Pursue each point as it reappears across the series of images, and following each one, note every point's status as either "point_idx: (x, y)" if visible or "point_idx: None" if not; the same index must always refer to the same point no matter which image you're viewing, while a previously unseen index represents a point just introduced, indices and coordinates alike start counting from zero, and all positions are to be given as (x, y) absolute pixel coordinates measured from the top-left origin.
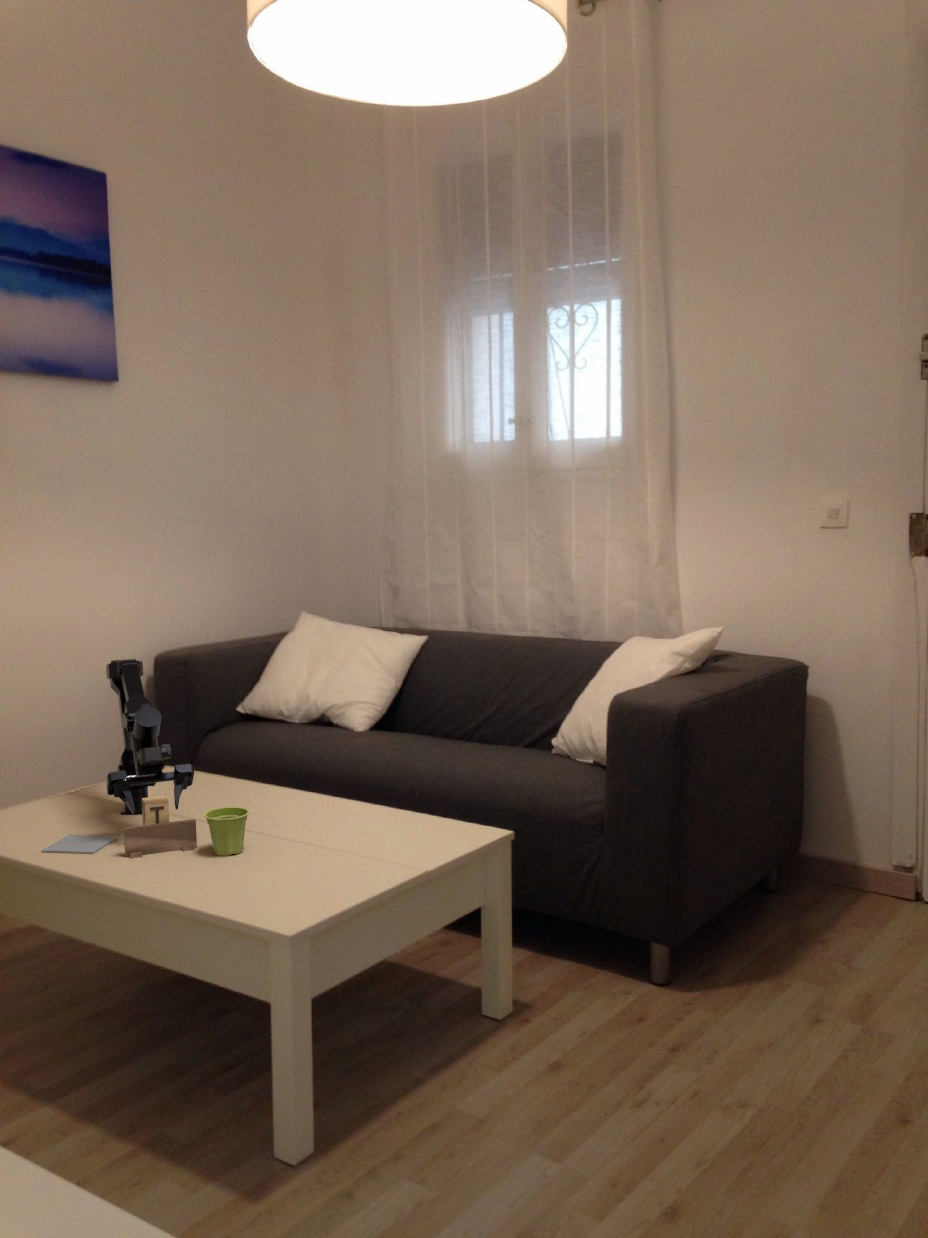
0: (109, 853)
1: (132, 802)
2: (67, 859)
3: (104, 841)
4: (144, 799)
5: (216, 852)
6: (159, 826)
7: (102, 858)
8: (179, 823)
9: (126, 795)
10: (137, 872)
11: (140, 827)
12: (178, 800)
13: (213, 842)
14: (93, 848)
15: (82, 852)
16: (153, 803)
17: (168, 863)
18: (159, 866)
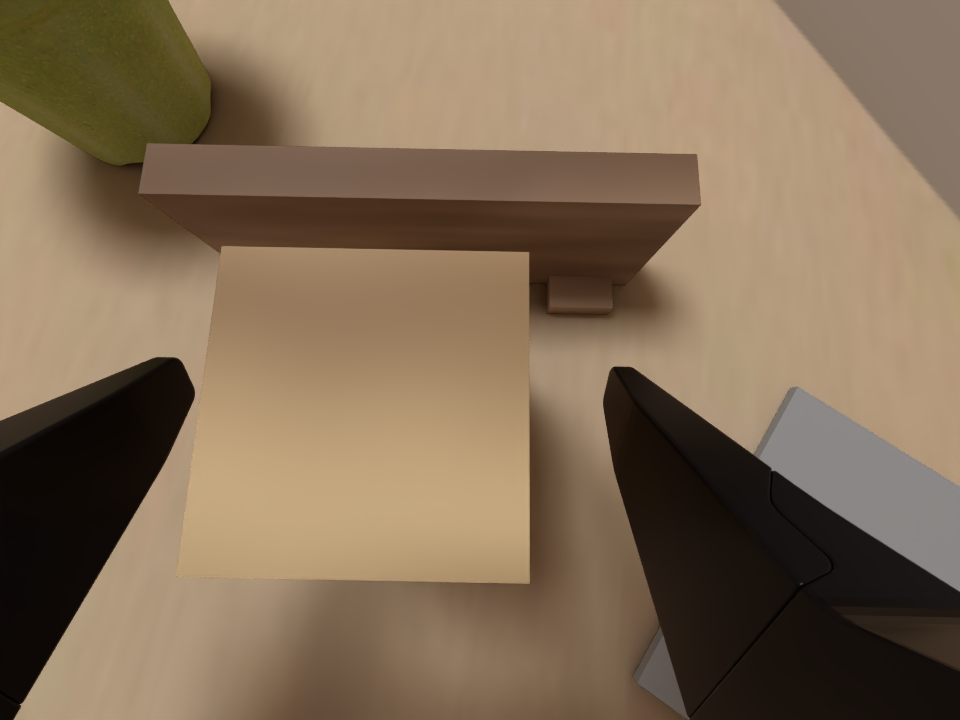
0: (702, 361)
1: (676, 428)
2: (922, 359)
3: None
4: (502, 472)
5: (205, 72)
6: (433, 153)
7: (740, 289)
8: (278, 148)
9: (829, 519)
10: (595, 16)
11: (576, 158)
12: (81, 389)
13: (181, 35)
14: (796, 462)
15: (854, 423)
16: (420, 254)
17: (446, 72)
18: (492, 50)
